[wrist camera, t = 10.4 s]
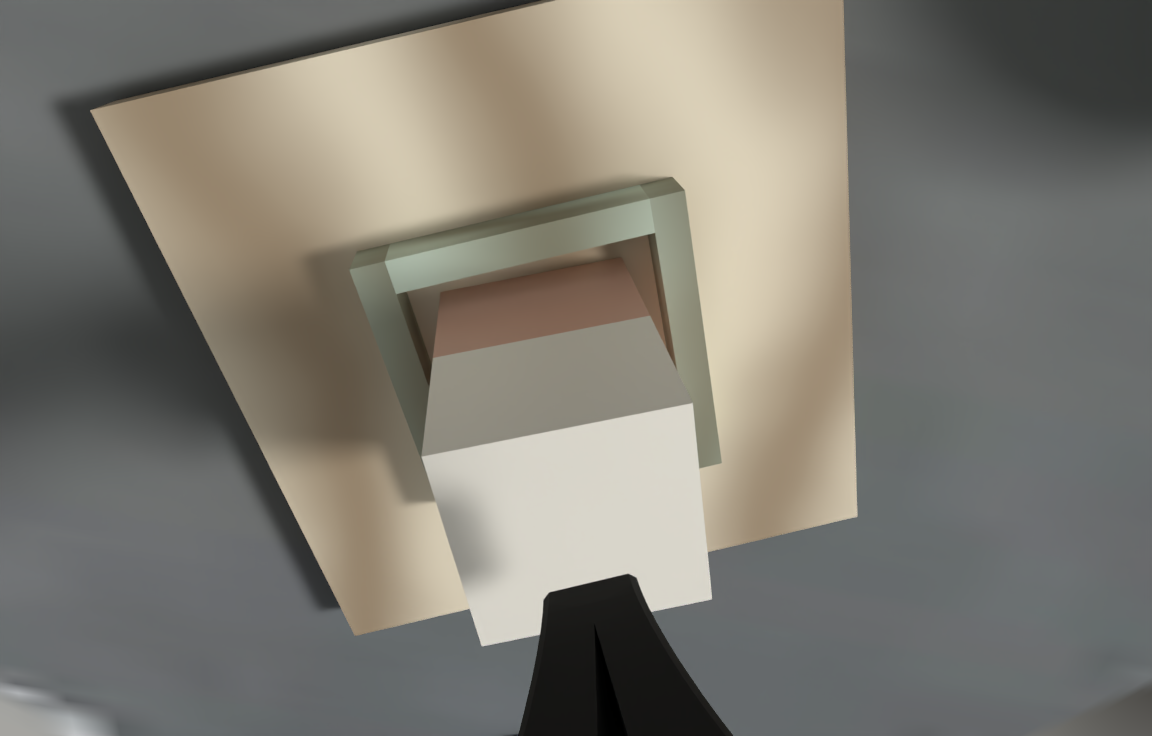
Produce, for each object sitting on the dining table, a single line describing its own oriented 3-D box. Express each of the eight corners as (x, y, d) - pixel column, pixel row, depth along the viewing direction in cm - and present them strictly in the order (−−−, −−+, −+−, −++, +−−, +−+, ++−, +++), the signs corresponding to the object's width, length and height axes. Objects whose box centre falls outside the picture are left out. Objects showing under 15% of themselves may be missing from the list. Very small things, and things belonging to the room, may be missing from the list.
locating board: (360, 607, 24) (349, 667, 22) (114, 101, 17) (62, 120, 15) (840, 492, 24) (875, 542, 22) (818, -66, 17) (867, -69, 15)
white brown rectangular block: (480, 442, 20) (481, 646, 14) (440, 292, 18) (421, 456, 12) (642, 410, 21) (712, 599, 14) (621, 257, 18) (692, 403, 12)
